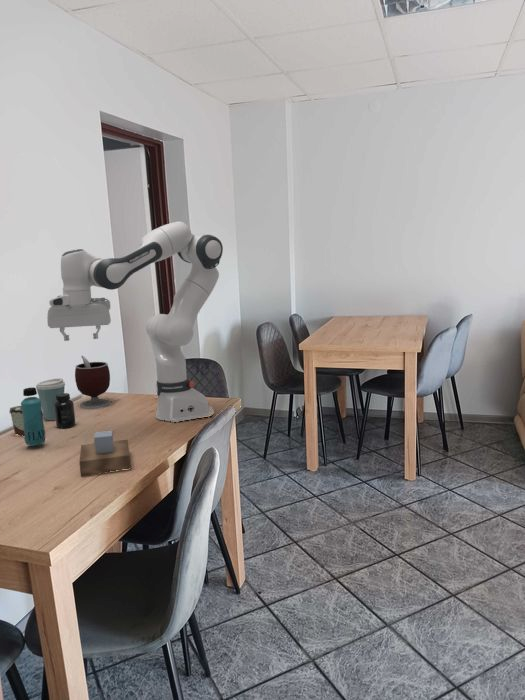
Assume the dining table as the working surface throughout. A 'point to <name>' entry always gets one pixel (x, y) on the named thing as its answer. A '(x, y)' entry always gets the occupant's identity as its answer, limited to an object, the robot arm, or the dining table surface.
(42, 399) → the disposable coffee cup
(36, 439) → the beverage bottle
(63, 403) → the supplement bottle
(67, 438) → the dining table surface
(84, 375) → the mate gourd
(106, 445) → the slate cube
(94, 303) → the robot arm
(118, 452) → the walnut block
